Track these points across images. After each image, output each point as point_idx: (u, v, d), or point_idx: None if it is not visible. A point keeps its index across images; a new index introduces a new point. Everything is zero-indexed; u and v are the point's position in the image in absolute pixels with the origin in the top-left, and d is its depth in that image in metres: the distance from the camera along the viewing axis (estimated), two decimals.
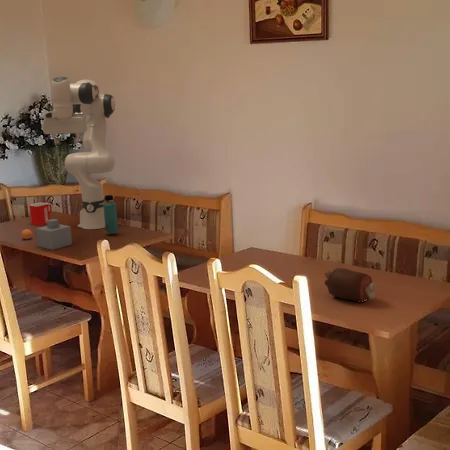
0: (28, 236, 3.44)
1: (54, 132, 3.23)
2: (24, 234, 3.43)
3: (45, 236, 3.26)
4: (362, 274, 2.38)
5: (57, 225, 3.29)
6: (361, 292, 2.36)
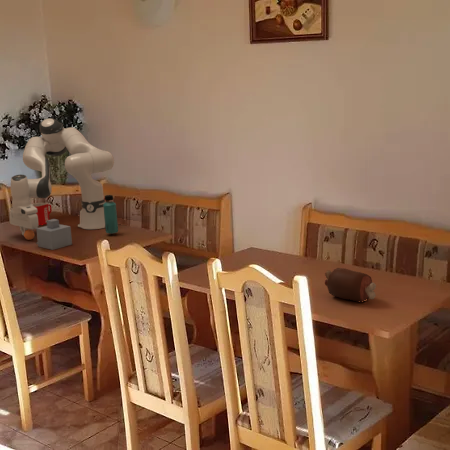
0: (30, 238, 3.43)
1: None
2: (27, 236, 3.42)
3: (45, 236, 3.26)
4: (362, 274, 2.38)
5: (57, 225, 3.29)
6: (361, 292, 2.36)
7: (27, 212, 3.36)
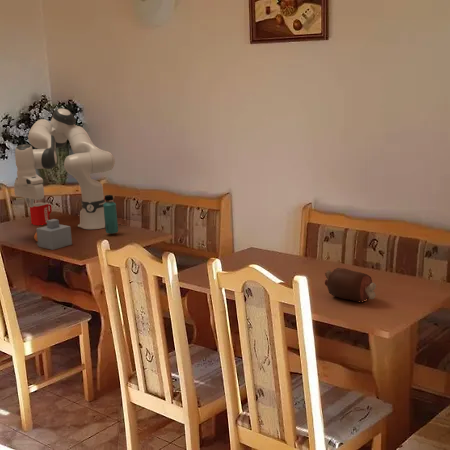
0: None
1: None
2: (34, 237, 3.38)
3: (45, 236, 3.26)
4: (362, 274, 2.38)
5: (57, 225, 3.29)
6: (361, 292, 2.36)
7: (32, 182, 3.28)
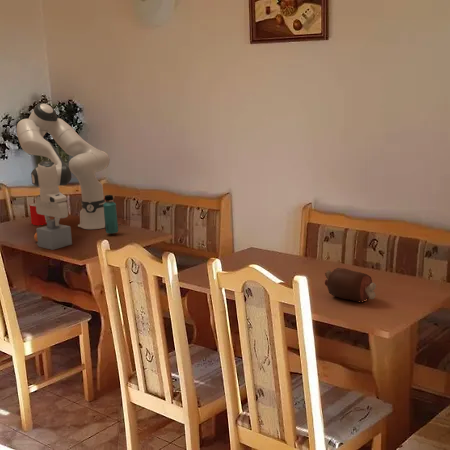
0: None
1: None
2: (34, 237, 3.38)
3: (45, 236, 3.26)
4: (362, 274, 2.38)
5: None
6: (361, 292, 2.36)
7: (56, 200, 3.19)
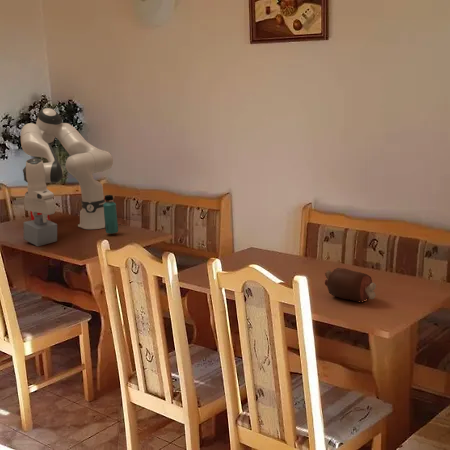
0: None
1: None
2: None
3: (31, 232, 3.32)
4: (362, 274, 2.38)
5: None
6: (361, 292, 2.36)
7: (43, 197, 3.25)
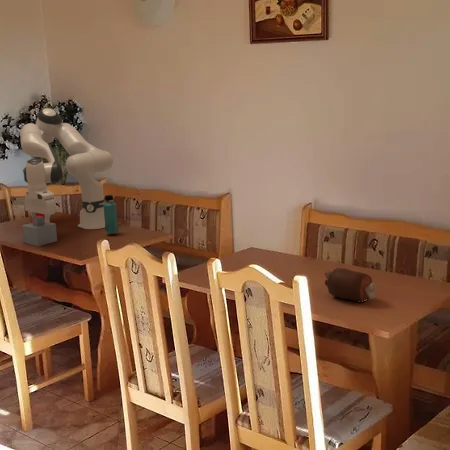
0: None
1: None
2: None
3: (30, 233, 3.33)
4: (362, 274, 2.38)
5: (42, 222, 3.36)
6: (361, 292, 2.36)
7: (44, 197, 3.25)
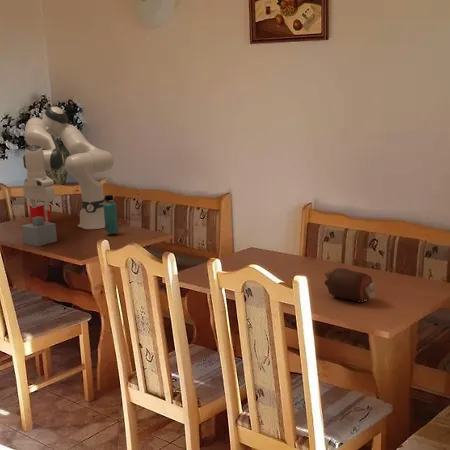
0: None
1: None
2: None
3: (30, 233, 3.33)
4: (362, 274, 2.38)
5: (42, 222, 3.36)
6: (361, 292, 2.36)
7: (43, 184, 3.23)
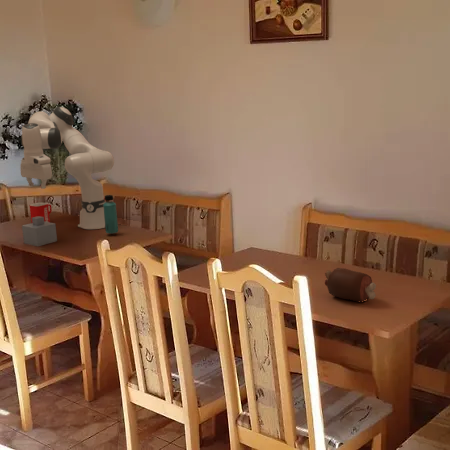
0: None
1: None
2: None
3: (30, 233, 3.33)
4: (362, 274, 2.38)
5: (42, 222, 3.36)
6: (361, 292, 2.36)
7: (40, 161, 3.21)
